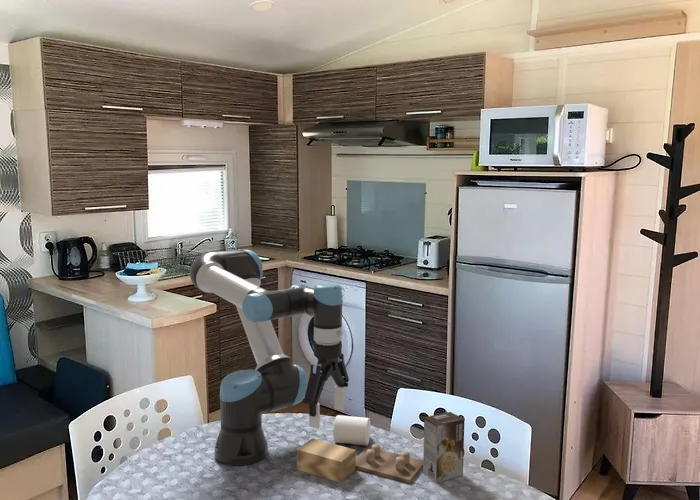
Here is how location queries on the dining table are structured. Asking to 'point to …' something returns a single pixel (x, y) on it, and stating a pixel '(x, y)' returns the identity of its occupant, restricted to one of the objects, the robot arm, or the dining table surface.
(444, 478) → the coffee box
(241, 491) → the dining table surface
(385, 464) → the peg stand
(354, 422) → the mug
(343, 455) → the wooden block
